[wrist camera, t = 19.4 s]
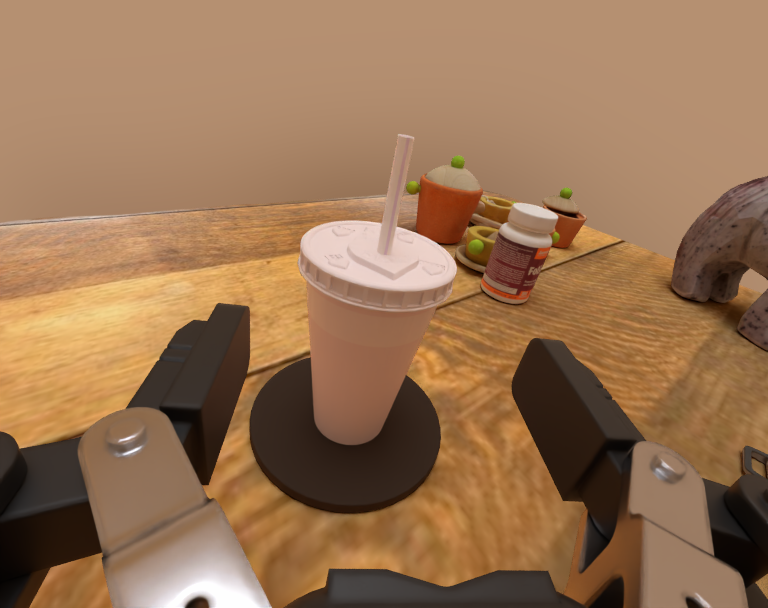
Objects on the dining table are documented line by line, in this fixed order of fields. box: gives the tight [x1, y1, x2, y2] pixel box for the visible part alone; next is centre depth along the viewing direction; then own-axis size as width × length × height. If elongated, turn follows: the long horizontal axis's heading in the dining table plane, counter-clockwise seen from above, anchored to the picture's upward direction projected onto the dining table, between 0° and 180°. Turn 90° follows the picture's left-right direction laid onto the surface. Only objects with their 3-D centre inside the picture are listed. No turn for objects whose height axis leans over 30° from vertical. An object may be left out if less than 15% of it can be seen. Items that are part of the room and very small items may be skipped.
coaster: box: [250, 357, 441, 513], centre depth 21 cm, size 10×10×1 cm
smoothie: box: [298, 134, 457, 445], centre depth 17 cm, size 6×6×14 cm
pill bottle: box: [481, 203, 558, 304], centre depth 36 cm, size 5×5×8 cm
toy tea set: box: [406, 156, 587, 273], centre depth 48 cm, size 26×16×10 cm, turn 133°
